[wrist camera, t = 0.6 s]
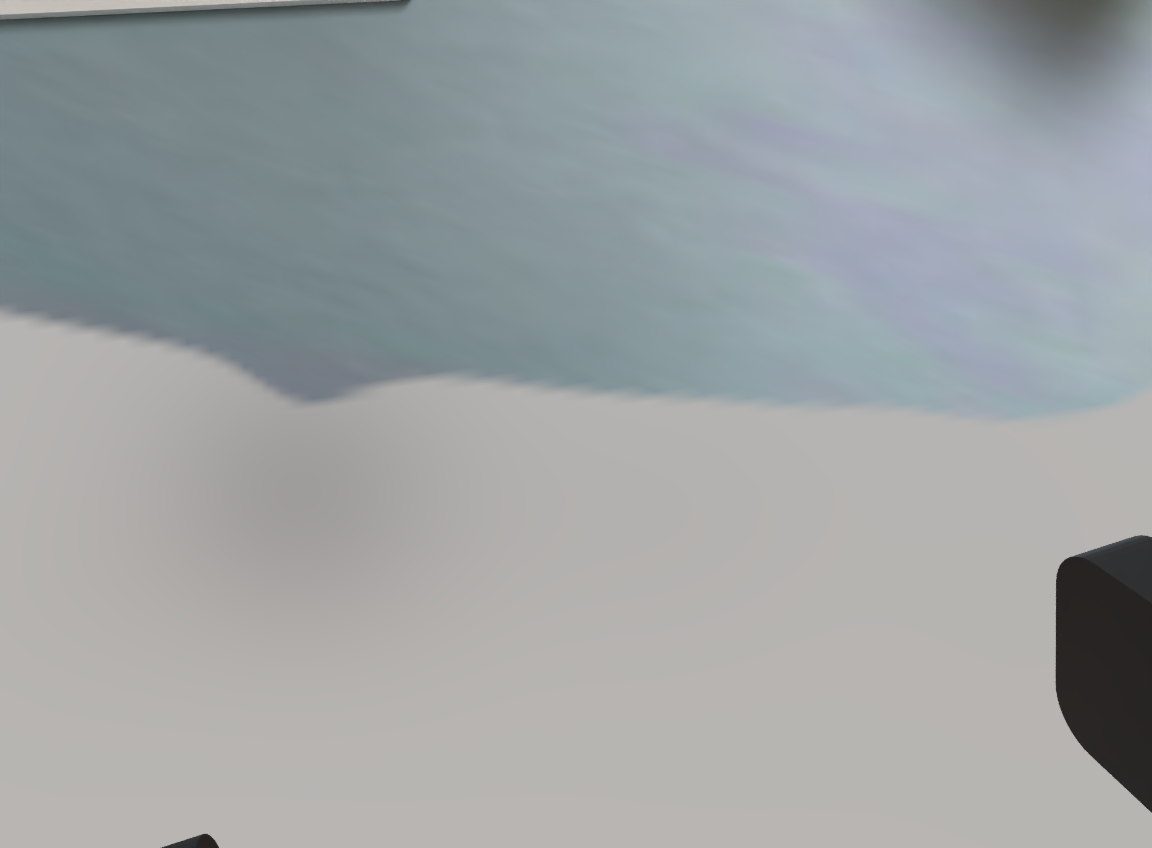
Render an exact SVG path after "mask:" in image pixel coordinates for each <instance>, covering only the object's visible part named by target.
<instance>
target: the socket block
mask: <svg viewBox="0 0 1152 848" xmlns="http://www.w3.org/2000/svg"><path fill="white" fill-rule="evenodd" d="M378 1H399V0H0V20H3V19H23V18H44V17H65V16H86V15H107V14H128V13H149V12H169V11H190V10H211V9H232V8H253V7H274V6H295V5H315V4H336V3H357V2H378Z"/></svg>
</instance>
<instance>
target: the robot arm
mask: <svg viewBox="0 0 1152 848" xmlns="http://www.w3.org/2000/svg"><path fill="white" fill-rule="evenodd" d="M1056 692H1057V698H1058V701H1059V705H1060V708H1061V711H1062V714H1063V716H1064V718H1065V720H1066V722H1067V724H1068V726H1069V728H1070V730H1071V731H1072V733H1073V735H1074V736H1075V737H1076V739H1077V740H1078V742H1079V743H1080V744H1081V746H1082V747H1083V748H1084V749H1085V750H1086V751H1087V752H1088V753H1089V754H1090V755H1091V756H1092V757H1093V758H1094V759H1095V760H1096V761H1097V762H1098V763H1099V764H1100V765H1101V766H1102V767H1103V768H1105V769H1106V770H1107V771H1108V772H1109V773H1110V774H1111V775H1112V776H1113V777H1114V778H1115V779H1116V780H1117V781H1119V782H1120V783H1121V784H1122V785H1123V786H1124V787H1125V788H1126V789H1127V790H1128V791H1129V792H1130V793H1131V794H1132V795H1133V796H1134V797H1136V798H1137V799H1138V800H1139V801H1140V802H1141V803H1142V804H1143V805H1144V806H1145V807H1146V808H1147V809H1148V810H1149V811H1151V812H1152V537H1148V536H1142V535H1140V536H1134V537H1131V538H1128V539H1125V540H1122V541H1119V542H1116V543H1112V544H1109V545H1106V546H1103V547H1100V548H1097V549H1094V550H1091V551H1088V552H1085V553H1082V554H1079V555H1075V556H1073V557H1069V558H1067V559H1066V560H1064V561H1063V562H1062V563H1061V565H1060V567H1059V569H1058V573H1057V579H1056ZM162 848H219V847H218V845H217V843H216V842H215V840H214V839H213V838H212V837H211V836H210V835H208V834H202V835H199V836H196V837H193V838H190V839H187V840H184V841H181V842H177V843H174V844H171V845H168V846H165V847H162Z"/></svg>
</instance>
